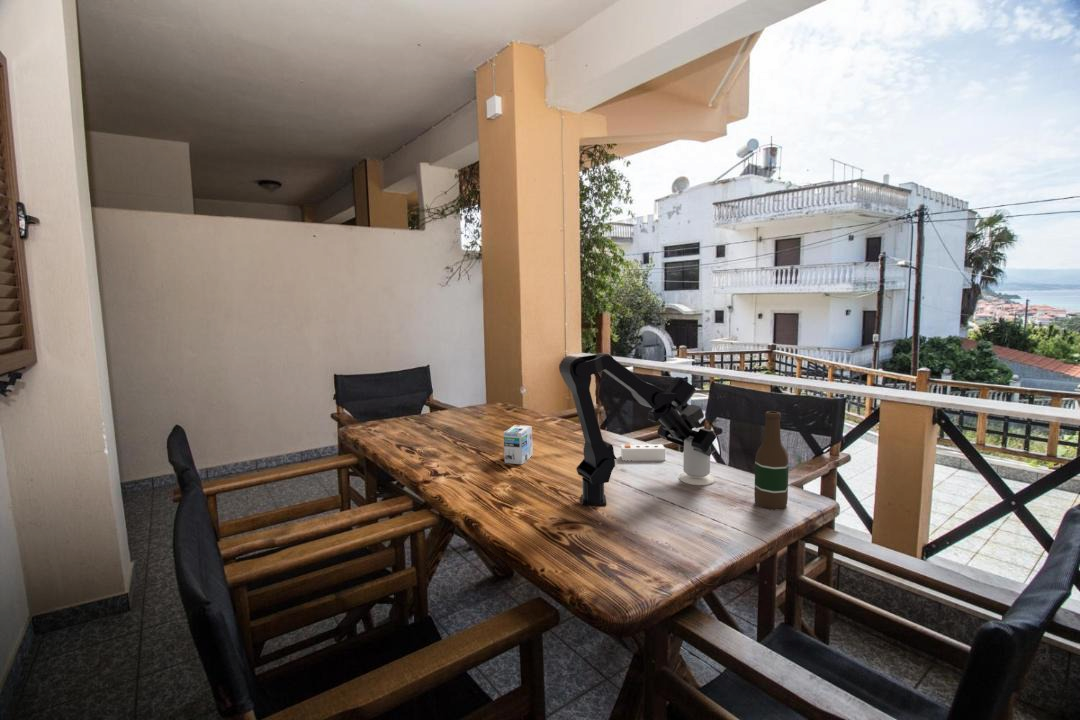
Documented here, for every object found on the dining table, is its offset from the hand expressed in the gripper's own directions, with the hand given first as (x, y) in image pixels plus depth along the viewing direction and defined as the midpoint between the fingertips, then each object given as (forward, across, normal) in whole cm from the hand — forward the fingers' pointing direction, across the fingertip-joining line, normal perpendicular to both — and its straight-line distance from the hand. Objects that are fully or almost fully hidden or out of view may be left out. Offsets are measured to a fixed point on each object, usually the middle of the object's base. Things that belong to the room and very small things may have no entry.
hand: (700, 451), depth 143 cm
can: (+4, 0, +6) cm, 7 cm away
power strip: (+4, +24, +8) cm, 25 cm away
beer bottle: (+7, -23, +4) cm, 24 cm away
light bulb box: (-21, +45, +34) cm, 60 cm away
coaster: (+5, 0, +7) cm, 8 cm away
